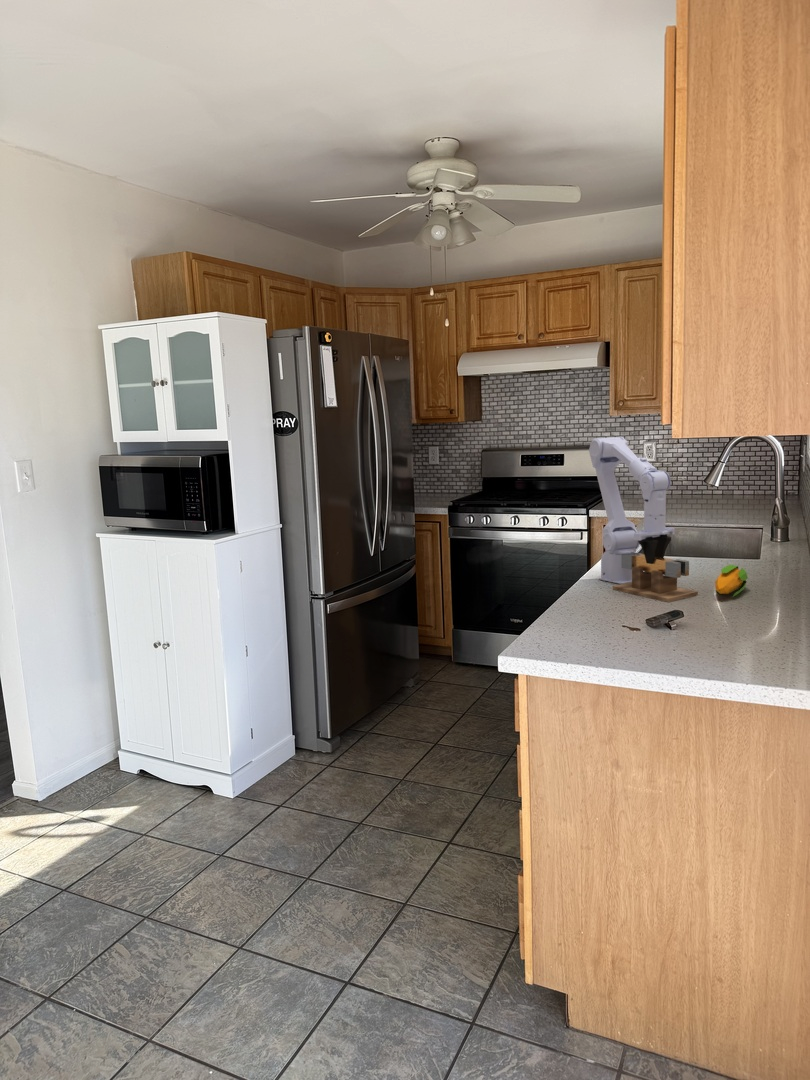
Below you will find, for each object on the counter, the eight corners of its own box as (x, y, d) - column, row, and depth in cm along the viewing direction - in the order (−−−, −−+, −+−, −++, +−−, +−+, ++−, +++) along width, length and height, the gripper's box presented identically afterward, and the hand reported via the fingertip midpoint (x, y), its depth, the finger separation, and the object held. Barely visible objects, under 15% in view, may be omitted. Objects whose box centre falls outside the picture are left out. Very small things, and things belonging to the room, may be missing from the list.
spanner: (621, 567, 222) (621, 554, 222) (633, 565, 225) (633, 552, 224) (676, 578, 206) (676, 563, 205) (688, 575, 208) (689, 561, 208)
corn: (750, 561, 216) (735, 574, 199) (751, 587, 217) (737, 603, 200) (722, 560, 220) (706, 574, 204) (724, 586, 221) (707, 602, 205)
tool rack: (612, 589, 222) (612, 565, 221) (641, 583, 228) (641, 560, 227) (668, 602, 205) (668, 576, 204) (697, 595, 211) (698, 570, 210)
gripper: (648, 518, 206) (647, 568, 208) (684, 513, 213) (683, 560, 215) (628, 516, 212) (628, 564, 214) (663, 511, 219) (663, 557, 221)
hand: (654, 562), depth 215 cm, fingers closed on spanner, 3 cm apart
